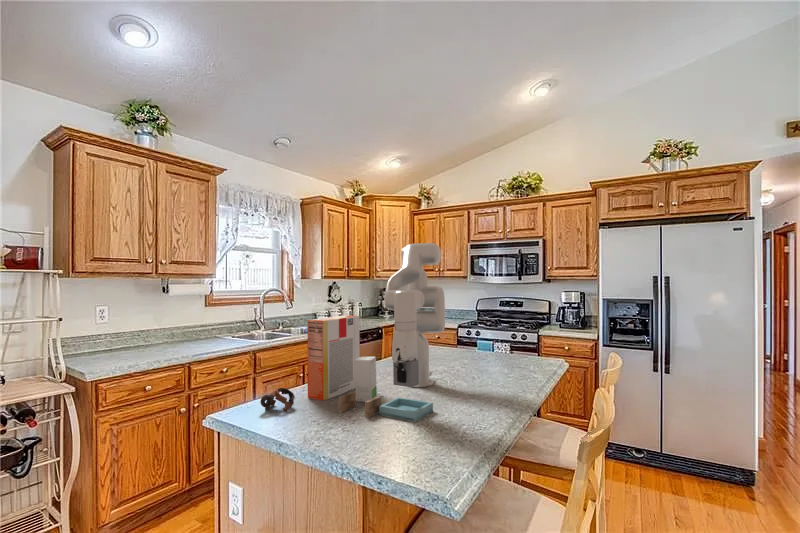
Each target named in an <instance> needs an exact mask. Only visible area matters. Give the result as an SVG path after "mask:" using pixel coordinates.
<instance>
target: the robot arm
mask: <svg viewBox="0 0 800 533" xmlns="http://www.w3.org/2000/svg"><path fill="white" fill-rule="evenodd" d="M400 251H401V252H400V256H401V257H400V258H401V266H400V269H399V270H397V271H396V272H395V273H394V274H393V275H392V276H391V277H390V278H389V279H388V281H387V283H386V287H385V292H384V296H383V297H384V300H383V301H384V305H385V308H386V309H387V310H390V311H393V313H394V314H393V315H394V321H393V322H394V331H393V334H392V335H393V336H392V346H391V359H392V364H394V365H395V367H396V370H397V382H401V383H406V371H405V365H406V361H409V360H410V358H413V360H418V362H419V384H418V385H416V386H413V387H412V388H426V387H431V386H432V385H433V384H434V381H433V380H432V379H430V376H433V371H432V370H430V344H429V341H428V339H427V337H426V336H425V335H424V334H439V333H443V332H444V331H445V327H446V303H445V302H446V299H445V292H444V289H443V287H441V286H440V285H439V286H438V285H428V273H427V272H426V271H425V269H424V266H436V265H439V264H440V263H441V260H442V251H441V248H440V246H439V245H437V243H434V242H433V243H432V242H431V243H430V242H423V243H417V242H416V243H410V244H407V245H406V246H405V247H403V248H402V249H401V250H400ZM405 286H408V287H407V289H405V288H404V289H400V288H402V287H405ZM423 308H426V309H427V308H429V309H432V308H433V310H421V309H423ZM400 359H402V361H400ZM401 363H403V364H402V365H401Z"/></svg>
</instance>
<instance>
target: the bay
mask: <svg viewBox="0 0 800 533" xmlns="http://www.w3.org/2000/svg"><path fill="white" fill-rule="evenodd" d="M382 400H383V399H382V396H381V395H377V397H375V398H373V399H370V400H368V401H366V402H364V418H367V419H368V418H371V417H372V416H374V415H377V414H378V413H379V406H381V405H383V403H382ZM356 406H357V401H356V391H351V392H349V393H346V394H344V395H340V396H338V412H339V413H343V412H346V411H348V410H350V409H353V408H355V407H356ZM352 407H353V408H352Z"/></svg>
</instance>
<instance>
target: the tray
mask: <svg viewBox="0 0 800 533" xmlns="http://www.w3.org/2000/svg"><path fill="white" fill-rule="evenodd" d="M433 412H434V402H430V401H424V400H419V399H412V398H406V397H402V396H401V397H399V396H397V397H395V398H393V399H391V400H389V401H387V402H385V403H382V405H381V406H379V416H380V417H381V416H382V417H388V418H392V419H398V420H402V421H408V422H413V423H417V422H419V421H420V420H422V419H423V418H425V417H427V416H428V415H430V414H432V413H433Z"/></svg>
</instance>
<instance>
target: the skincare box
mask: <svg viewBox="0 0 800 533" xmlns="http://www.w3.org/2000/svg"><path fill="white" fill-rule="evenodd" d="M376 357H377V356H360V357H359V358H357V359H356V360H355V379H356V388H355V392H356V402H359V403H361V402H362V403H365V402H366V401H368V400H370V399H373V398H375V397H377V396H378V395H377V394H378V392H377V390H378V389H377V388H378V387H377V360H376V359H377V358H376Z"/></svg>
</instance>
